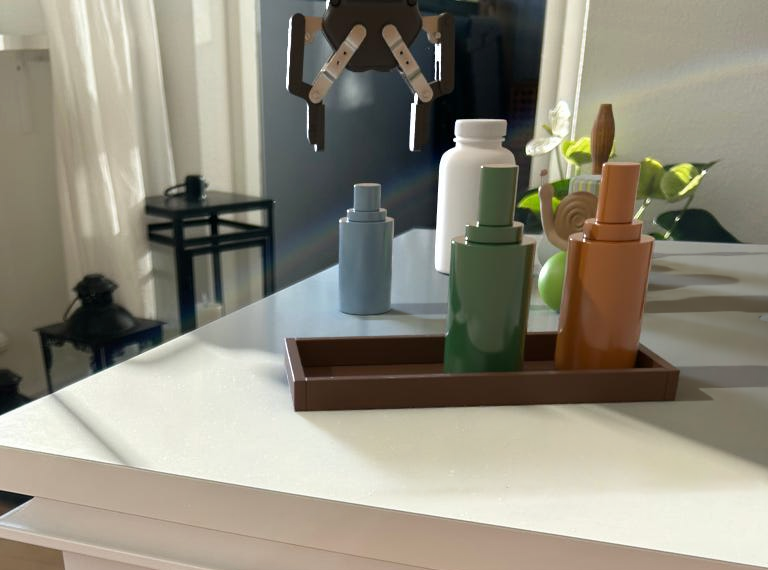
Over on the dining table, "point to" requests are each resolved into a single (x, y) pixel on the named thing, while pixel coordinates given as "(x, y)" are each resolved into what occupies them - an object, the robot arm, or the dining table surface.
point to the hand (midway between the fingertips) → (367, 151)
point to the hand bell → (602, 137)
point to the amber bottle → (605, 280)
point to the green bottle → (490, 282)
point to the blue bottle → (365, 254)
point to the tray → (455, 376)
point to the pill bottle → (465, 179)
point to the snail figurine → (561, 235)
